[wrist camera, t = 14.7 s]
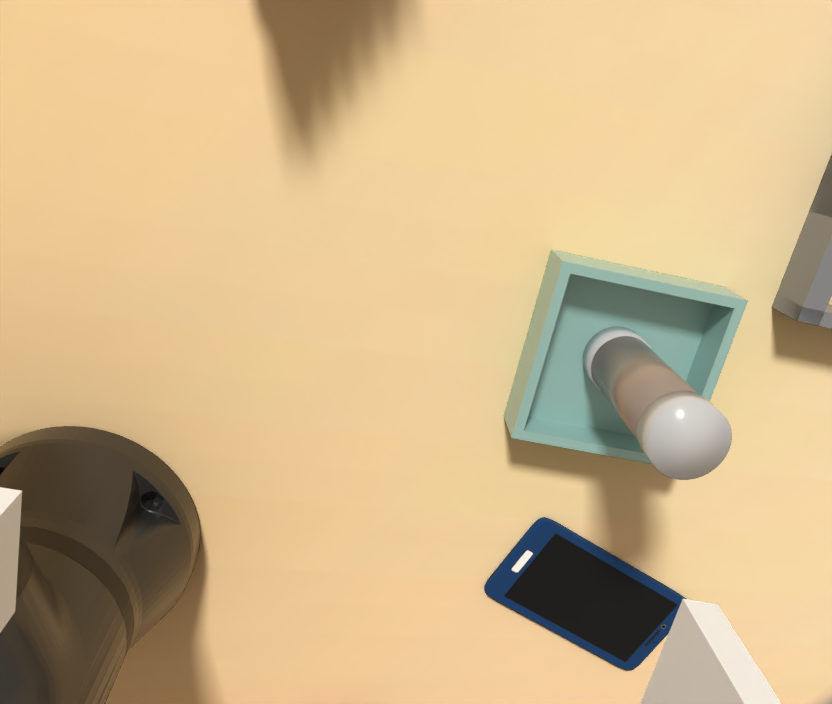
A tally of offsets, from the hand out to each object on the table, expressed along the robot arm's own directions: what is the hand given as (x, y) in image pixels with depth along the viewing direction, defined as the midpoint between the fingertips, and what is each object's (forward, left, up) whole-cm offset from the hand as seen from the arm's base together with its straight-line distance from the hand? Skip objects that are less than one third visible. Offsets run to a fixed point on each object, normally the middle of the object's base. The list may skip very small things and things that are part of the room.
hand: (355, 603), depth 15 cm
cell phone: (-21, -20, -32) cm, 43 cm away
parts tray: (-3, -16, -32) cm, 36 cm away
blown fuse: (-3, -16, -31) cm, 35 cm away
